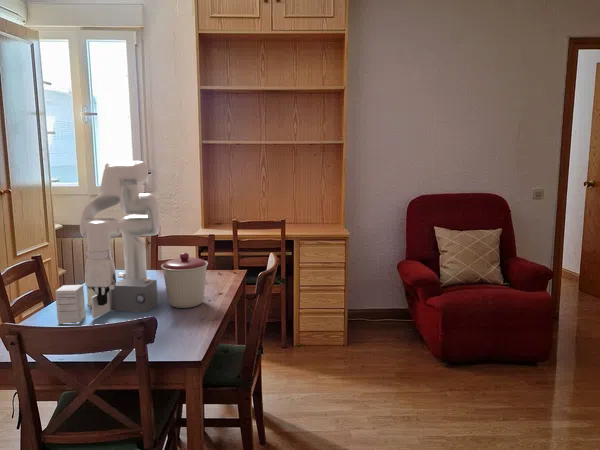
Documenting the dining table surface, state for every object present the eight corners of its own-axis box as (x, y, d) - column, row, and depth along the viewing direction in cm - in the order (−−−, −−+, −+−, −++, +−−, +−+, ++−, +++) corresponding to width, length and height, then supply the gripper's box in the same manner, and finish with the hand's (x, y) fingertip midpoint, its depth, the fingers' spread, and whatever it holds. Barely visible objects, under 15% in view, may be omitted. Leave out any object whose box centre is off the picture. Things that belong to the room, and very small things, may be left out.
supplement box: (65, 318, 177) (62, 284, 175) (86, 317, 177) (83, 284, 176) (57, 325, 170) (54, 290, 168) (79, 324, 170) (76, 290, 168)
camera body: (110, 311, 184) (108, 284, 182) (125, 302, 195) (123, 276, 193) (145, 313, 181) (143, 285, 180) (158, 304, 192) (157, 278, 191)
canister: (160, 301, 197) (157, 250, 194) (204, 295, 204) (202, 247, 201) (166, 314, 180) (163, 259, 177) (214, 308, 187) (212, 255, 184)
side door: (109, 309, 185) (108, 288, 184) (113, 310, 184) (111, 288, 183) (91, 318, 175) (89, 296, 174) (94, 318, 175) (93, 296, 173)
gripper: (74, 256, 170) (77, 306, 173) (113, 257, 168) (116, 308, 170) (86, 252, 178) (89, 300, 180) (124, 253, 175) (127, 302, 178)
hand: (102, 304), depth 175 cm, fingers closed
